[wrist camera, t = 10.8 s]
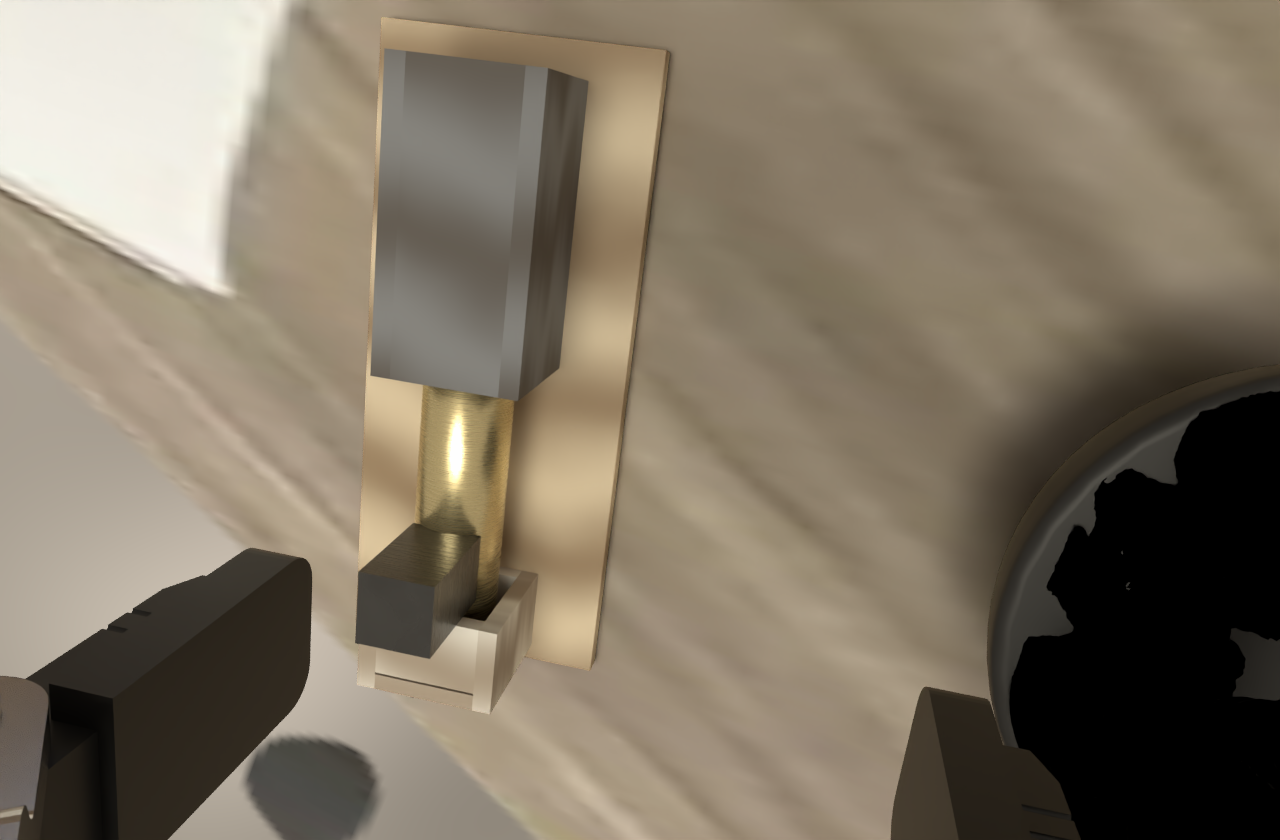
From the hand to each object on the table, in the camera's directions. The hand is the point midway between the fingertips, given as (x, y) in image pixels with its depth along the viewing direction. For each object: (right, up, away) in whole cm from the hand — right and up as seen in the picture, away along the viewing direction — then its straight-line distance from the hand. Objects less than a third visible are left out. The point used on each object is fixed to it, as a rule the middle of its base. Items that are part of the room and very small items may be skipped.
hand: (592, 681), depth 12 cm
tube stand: (-6, +6, +31) cm, 32 cm away
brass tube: (-7, +2, +30) cm, 31 cm away
